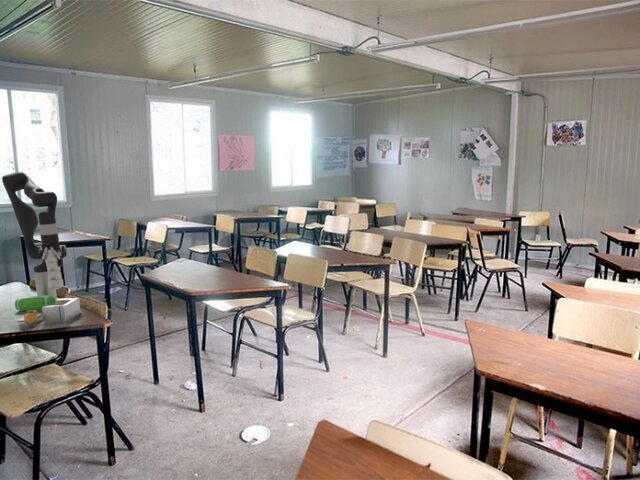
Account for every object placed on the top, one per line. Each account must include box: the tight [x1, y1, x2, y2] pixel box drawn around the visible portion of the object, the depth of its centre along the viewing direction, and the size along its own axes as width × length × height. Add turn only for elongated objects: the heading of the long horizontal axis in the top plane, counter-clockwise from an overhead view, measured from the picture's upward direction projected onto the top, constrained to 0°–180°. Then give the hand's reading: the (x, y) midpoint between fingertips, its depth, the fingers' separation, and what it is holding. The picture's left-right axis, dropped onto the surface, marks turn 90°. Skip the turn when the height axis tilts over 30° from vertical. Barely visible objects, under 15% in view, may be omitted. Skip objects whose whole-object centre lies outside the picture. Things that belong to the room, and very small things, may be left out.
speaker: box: [14, 295, 56, 312], centre depth 253 cm, size 18×7×8 cm, turn 95°
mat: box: [16, 312, 43, 323], centre depth 240 cm, size 10×8×1 cm
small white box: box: [18, 297, 82, 330], centre depth 233 cm, size 23×18×8 cm
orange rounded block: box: [22, 310, 38, 325], centre depth 228 cm, size 8×3×7 cm, turn 1°
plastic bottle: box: [45, 250, 64, 290], centre depth 234 cm, size 6×7×20 cm
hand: (53, 266), depth 234 cm, fingers closed on plastic bottle, 6 cm apart
